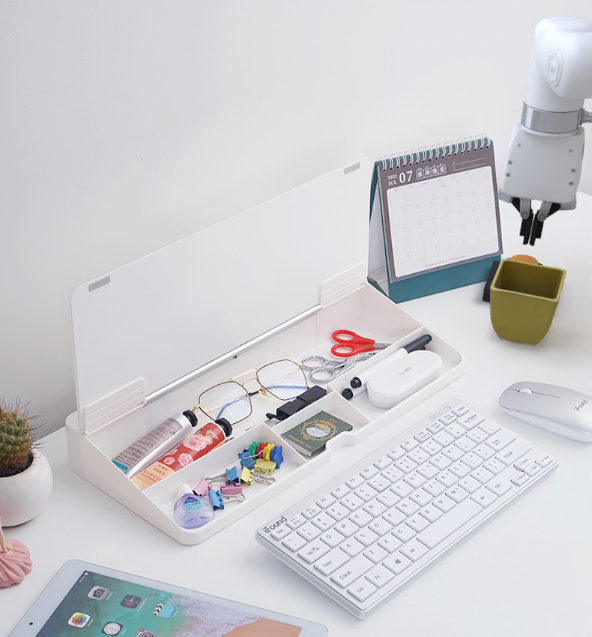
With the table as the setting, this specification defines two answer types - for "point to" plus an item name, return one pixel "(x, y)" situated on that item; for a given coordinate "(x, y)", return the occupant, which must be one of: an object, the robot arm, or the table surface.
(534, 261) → the switch button
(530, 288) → the flower pot
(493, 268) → the switch
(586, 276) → the table surface
